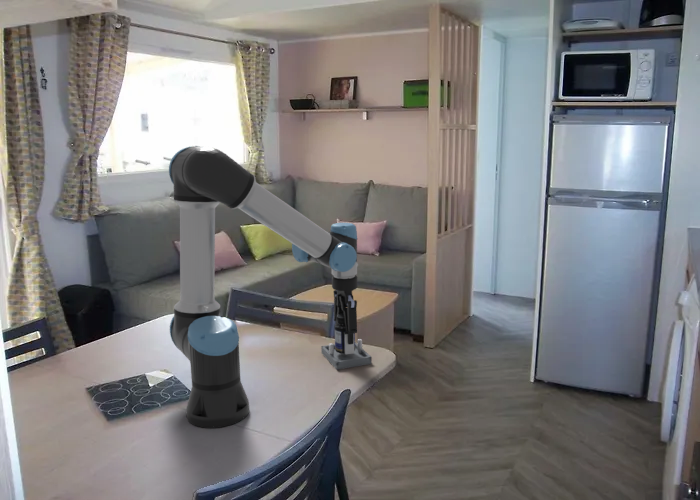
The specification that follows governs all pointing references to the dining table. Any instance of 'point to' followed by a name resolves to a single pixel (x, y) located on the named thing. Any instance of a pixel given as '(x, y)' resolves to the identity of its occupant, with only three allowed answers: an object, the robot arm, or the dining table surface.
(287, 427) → the dining table surface
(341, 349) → the pill bottle
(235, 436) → the dining table surface
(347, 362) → the tray
